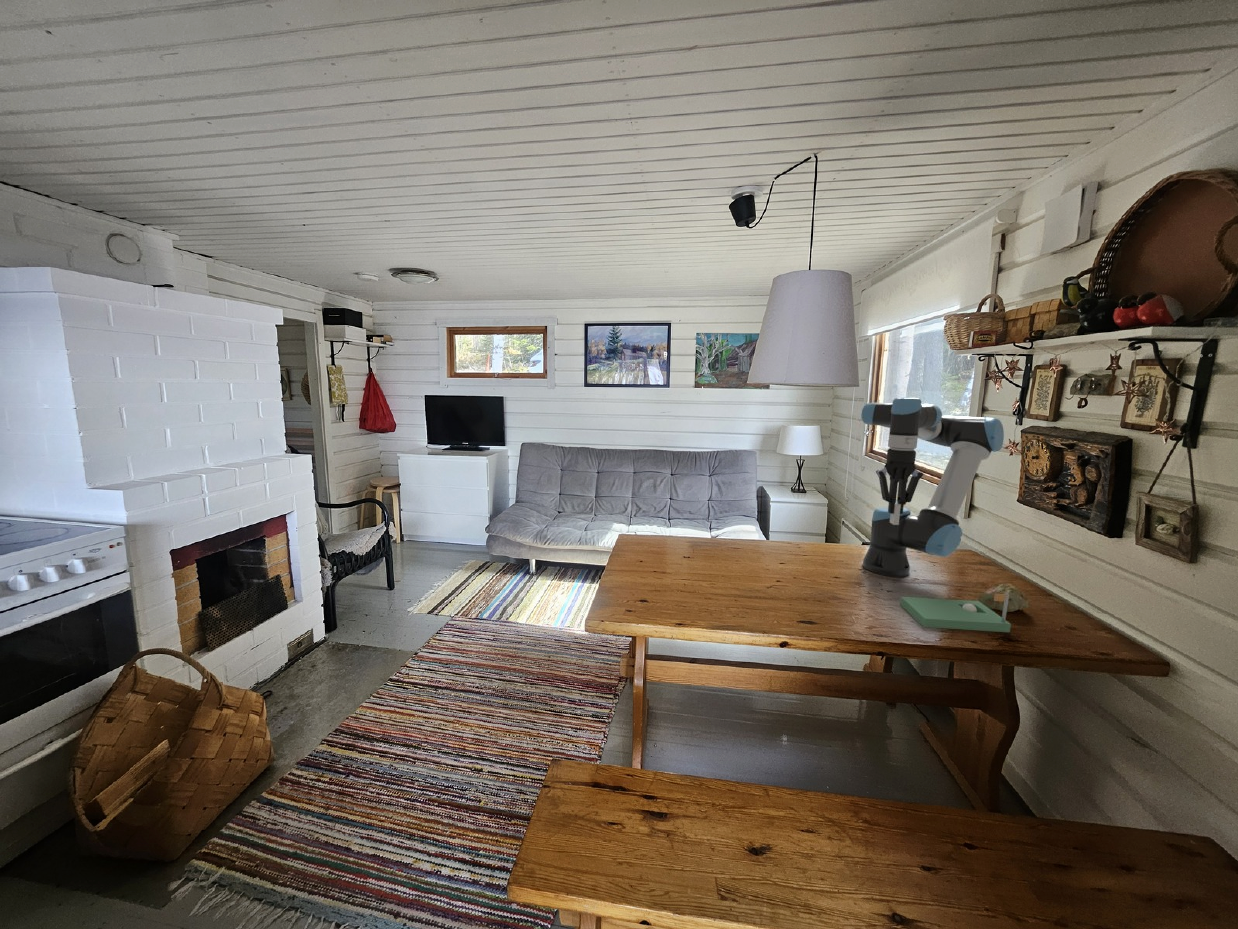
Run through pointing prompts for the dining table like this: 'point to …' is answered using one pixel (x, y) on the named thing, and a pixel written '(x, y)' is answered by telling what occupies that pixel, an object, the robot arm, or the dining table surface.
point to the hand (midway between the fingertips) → (894, 523)
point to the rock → (1014, 602)
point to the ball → (969, 608)
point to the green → (957, 614)
